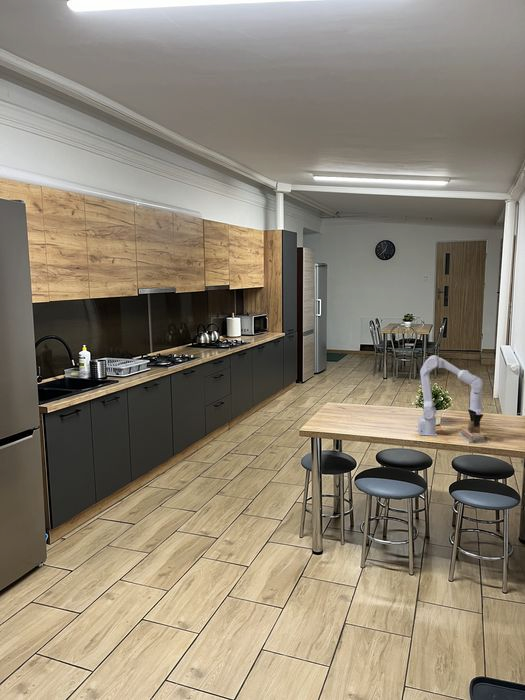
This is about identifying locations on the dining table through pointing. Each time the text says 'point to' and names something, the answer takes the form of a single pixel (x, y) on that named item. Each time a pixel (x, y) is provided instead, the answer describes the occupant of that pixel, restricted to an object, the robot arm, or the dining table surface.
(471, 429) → the walnut cube
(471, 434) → the packaged product
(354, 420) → the dining table surface
